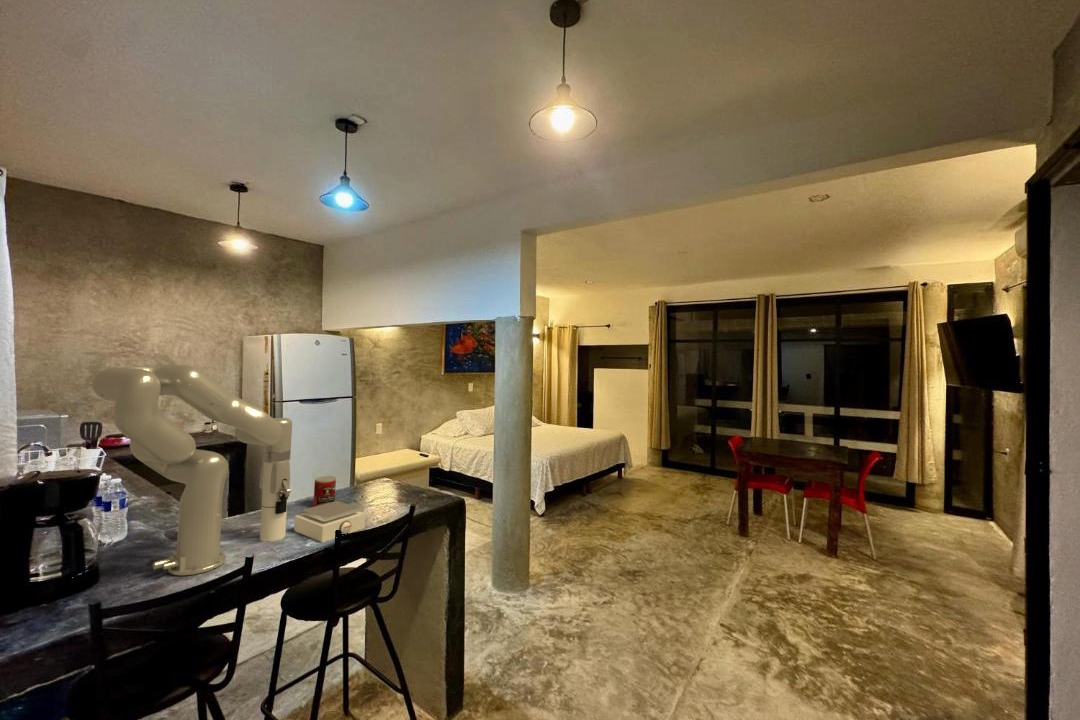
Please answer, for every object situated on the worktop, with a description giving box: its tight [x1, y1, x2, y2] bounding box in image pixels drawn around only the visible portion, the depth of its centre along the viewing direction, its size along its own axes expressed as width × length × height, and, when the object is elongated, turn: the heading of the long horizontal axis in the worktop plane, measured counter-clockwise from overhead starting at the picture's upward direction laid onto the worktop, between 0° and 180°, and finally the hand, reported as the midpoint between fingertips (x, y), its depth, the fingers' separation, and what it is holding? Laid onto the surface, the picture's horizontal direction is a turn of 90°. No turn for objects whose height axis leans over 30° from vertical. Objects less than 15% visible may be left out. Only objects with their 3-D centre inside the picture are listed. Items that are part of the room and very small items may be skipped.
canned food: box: [313, 475, 337, 507], centre depth 173 cm, size 8×8×11 cm
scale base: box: [293, 511, 367, 543], centre depth 150 cm, size 16×17×5 cm
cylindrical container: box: [259, 462, 288, 543], centre depth 141 cm, size 7×7×25 cm
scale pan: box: [301, 500, 360, 522], centre depth 150 cm, size 13×13×1 cm
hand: (274, 510), depth 141 cm, fingers closed on cylindrical container, 7 cm apart
